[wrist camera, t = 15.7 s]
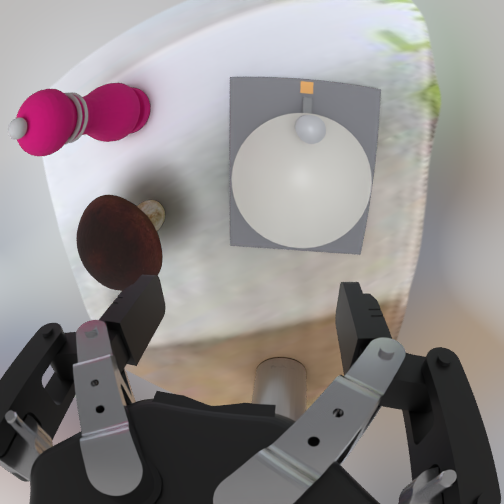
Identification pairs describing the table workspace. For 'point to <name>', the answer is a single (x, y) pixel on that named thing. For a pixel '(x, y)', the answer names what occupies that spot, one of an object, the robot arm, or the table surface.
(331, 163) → the cam dial
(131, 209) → the decorative mushroom
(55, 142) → the pepper mill
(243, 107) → the dial base
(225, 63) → the table surface
